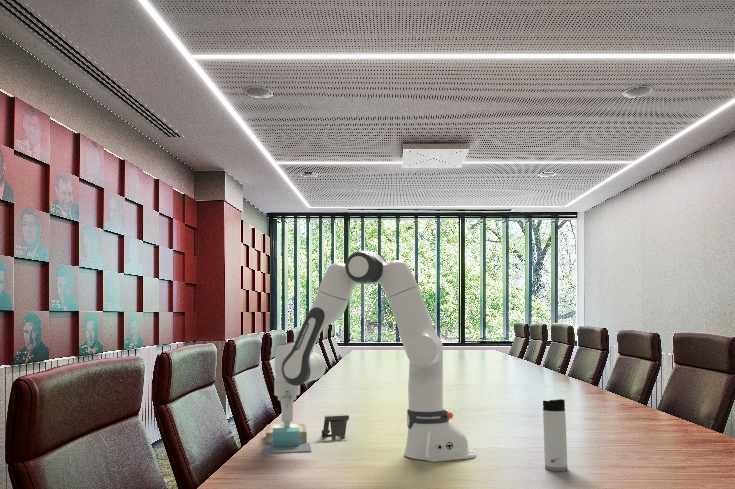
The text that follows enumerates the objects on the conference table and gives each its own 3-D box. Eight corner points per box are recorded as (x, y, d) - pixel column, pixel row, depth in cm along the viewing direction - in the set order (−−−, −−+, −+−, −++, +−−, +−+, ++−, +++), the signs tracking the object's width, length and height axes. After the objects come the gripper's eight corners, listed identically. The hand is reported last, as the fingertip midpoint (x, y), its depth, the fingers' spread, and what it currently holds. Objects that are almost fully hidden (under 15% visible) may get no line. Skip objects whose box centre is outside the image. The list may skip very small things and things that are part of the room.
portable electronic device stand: (344, 434, 230) (344, 411, 231) (350, 438, 222) (350, 415, 223) (321, 436, 227) (321, 413, 228) (326, 440, 220) (326, 416, 221)
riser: (304, 434, 230) (304, 423, 231) (306, 443, 214) (306, 431, 215) (266, 435, 228) (267, 424, 229) (265, 445, 212) (266, 433, 213)
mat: (309, 443, 214) (309, 442, 214) (311, 452, 201) (311, 450, 201) (262, 445, 212) (262, 444, 212) (261, 453, 199) (261, 452, 199)
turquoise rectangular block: (299, 427, 209) (299, 431, 207) (299, 441, 211) (299, 445, 210) (272, 428, 208) (272, 432, 206) (272, 442, 210) (272, 446, 208)
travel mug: (555, 472, 174) (553, 400, 176) (540, 467, 180) (538, 397, 182) (573, 470, 176) (570, 399, 178) (557, 465, 182) (554, 396, 184)
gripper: (297, 393, 203) (296, 436, 201) (295, 386, 223) (295, 425, 221) (277, 393, 202) (277, 437, 200) (278, 386, 222) (277, 425, 221)
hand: (286, 430), depth 211 cm, fingers closed
